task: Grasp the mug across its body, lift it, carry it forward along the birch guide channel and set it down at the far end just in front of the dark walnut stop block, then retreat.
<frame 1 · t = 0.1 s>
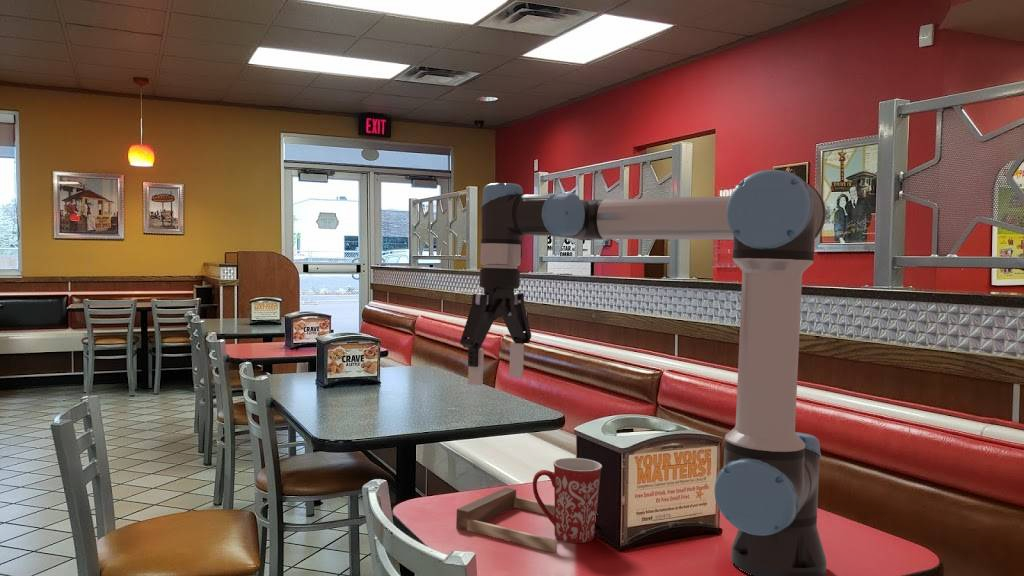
hand: (496, 380, 139), 28 cm above the table, fingers open, 13 cm apart
mug: (565, 536, 137), on the table
channel: (527, 526, 141), on the table
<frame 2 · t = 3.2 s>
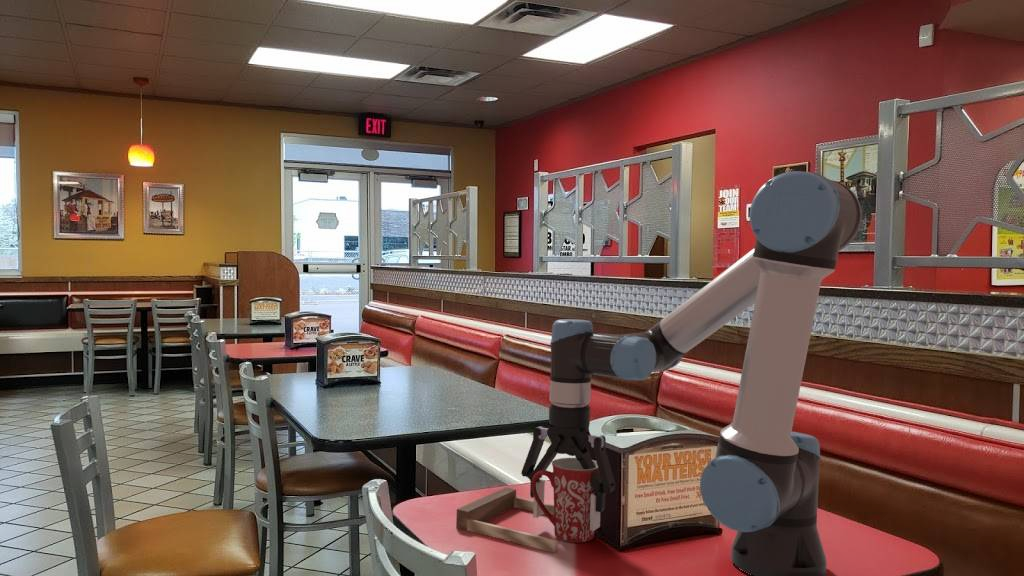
hand: (566, 521, 137), 3 cm above the table, fingers closed on mug, 11 cm apart
mug: (565, 536, 137), on the table, touching gripper
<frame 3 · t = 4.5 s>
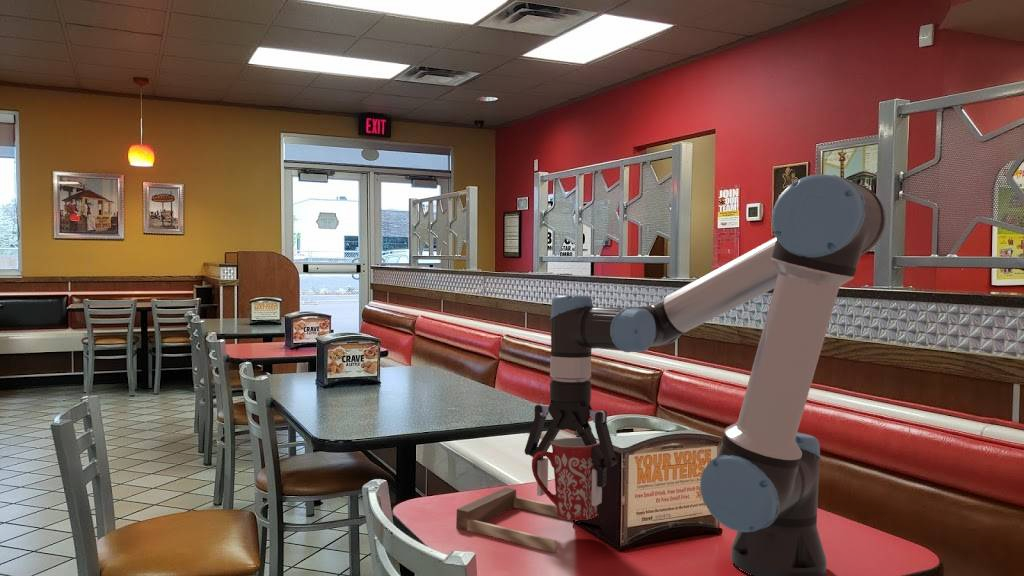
hand: (568, 498, 137), 7 cm above the table, fingers closed on mug, 10 cm apart
mug: (568, 516, 136), point 4 cm above the table, touching gripper
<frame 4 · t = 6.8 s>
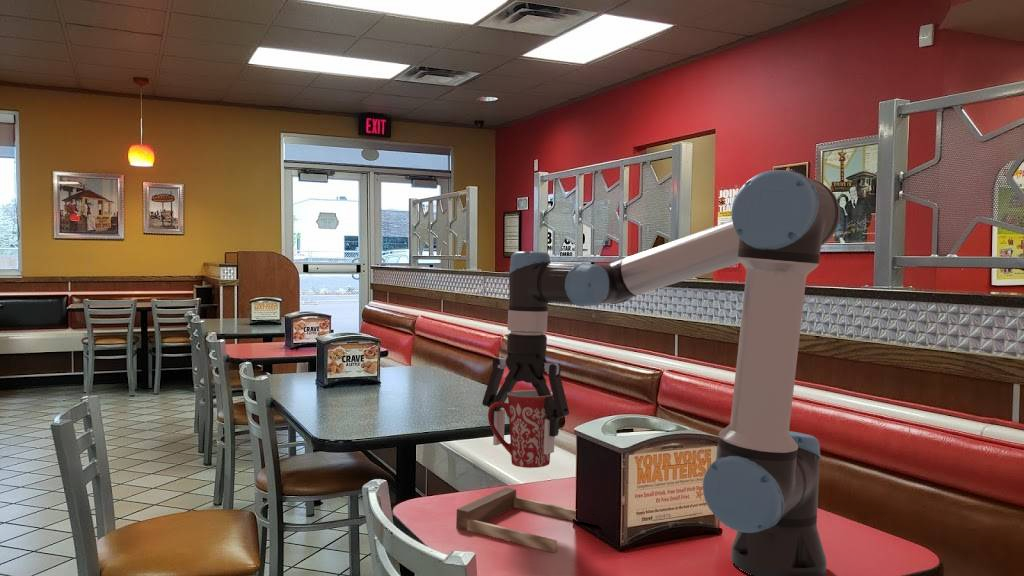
hand: (523, 448, 142), 15 cm above the table, fingers closed on mug, 10 cm apart
mug: (521, 464, 142), point 12 cm above the table, touching gripper
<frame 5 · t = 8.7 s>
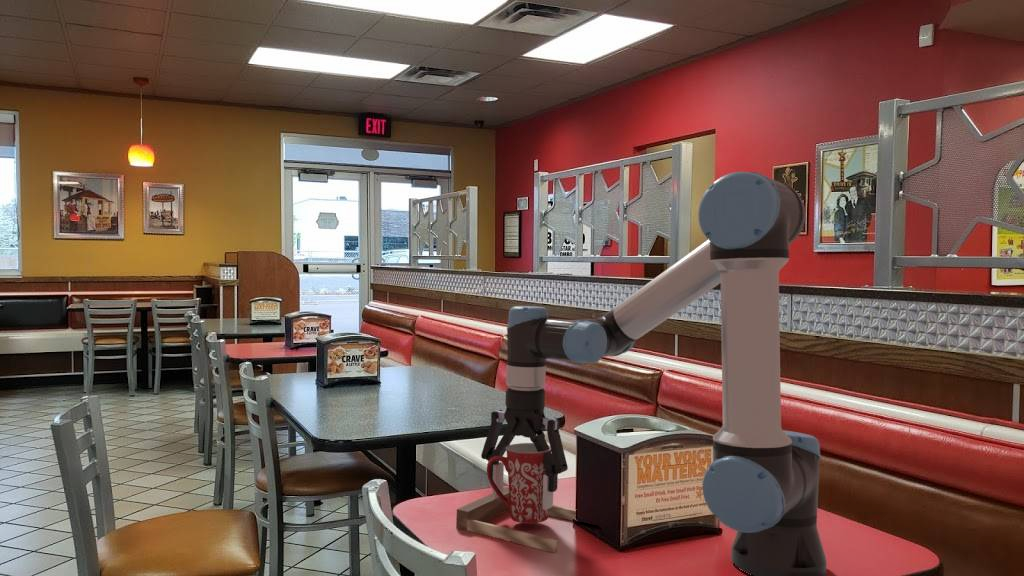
hand: (522, 502, 142), 4 cm above the table, fingers closed on mug, 10 cm apart
mug: (520, 518, 142), point 1 cm above the table, touching gripper
when the fingers open (4 cm above the table, at t = 9.5 s): mug drops 1 cm, on the table.
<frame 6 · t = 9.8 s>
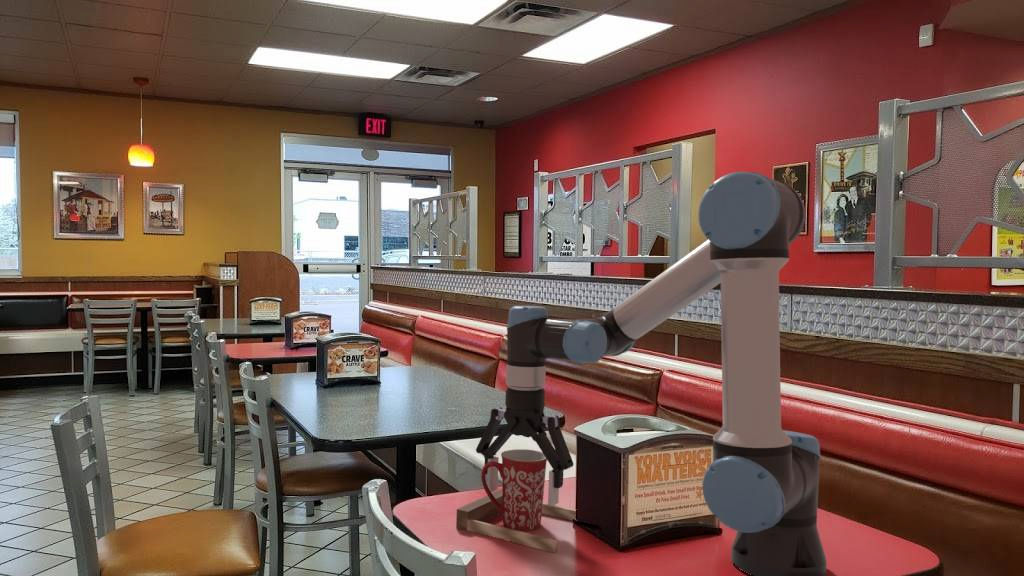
hand: (521, 497, 142), 5 cm above the table, fingers open, 13 cm apart
mug: (512, 524, 143), on the table
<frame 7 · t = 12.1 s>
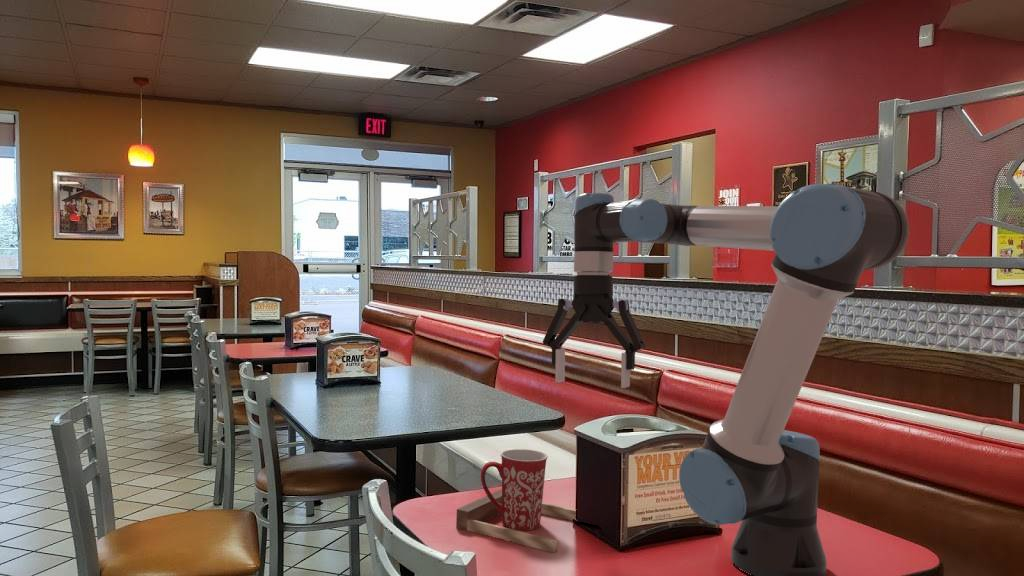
hand: (592, 384, 143), 27 cm above the table, fingers open, 13 cm apart
nothing on the table moved.
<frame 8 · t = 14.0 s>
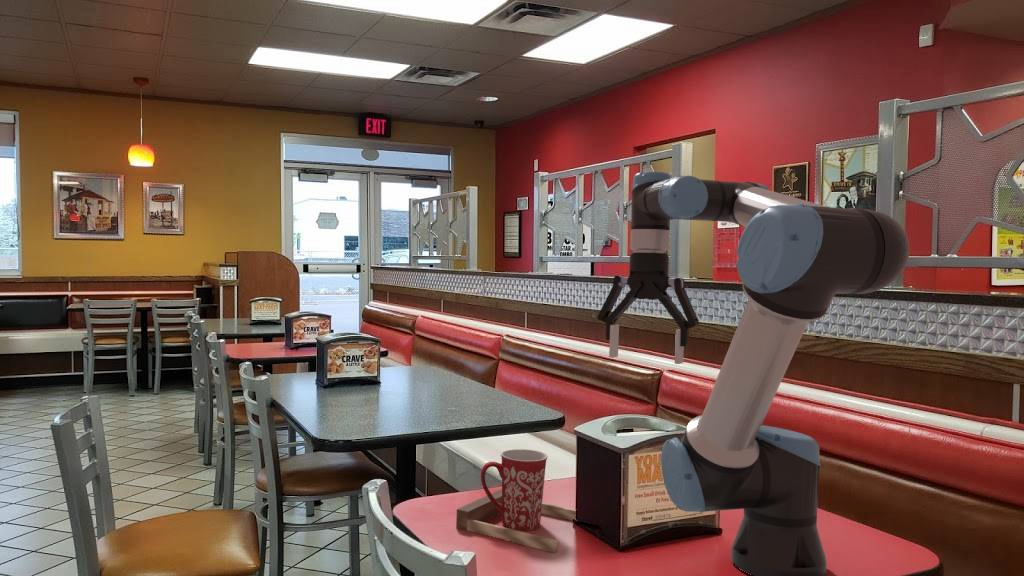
hand: (645, 360, 146), 32 cm above the table, fingers open, 13 cm apart
nothing on the table moved.
at the end: mug inside the target area (0.6 cm from its centre), on the table; mug tilted 0°; the gripper is holding nothing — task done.
